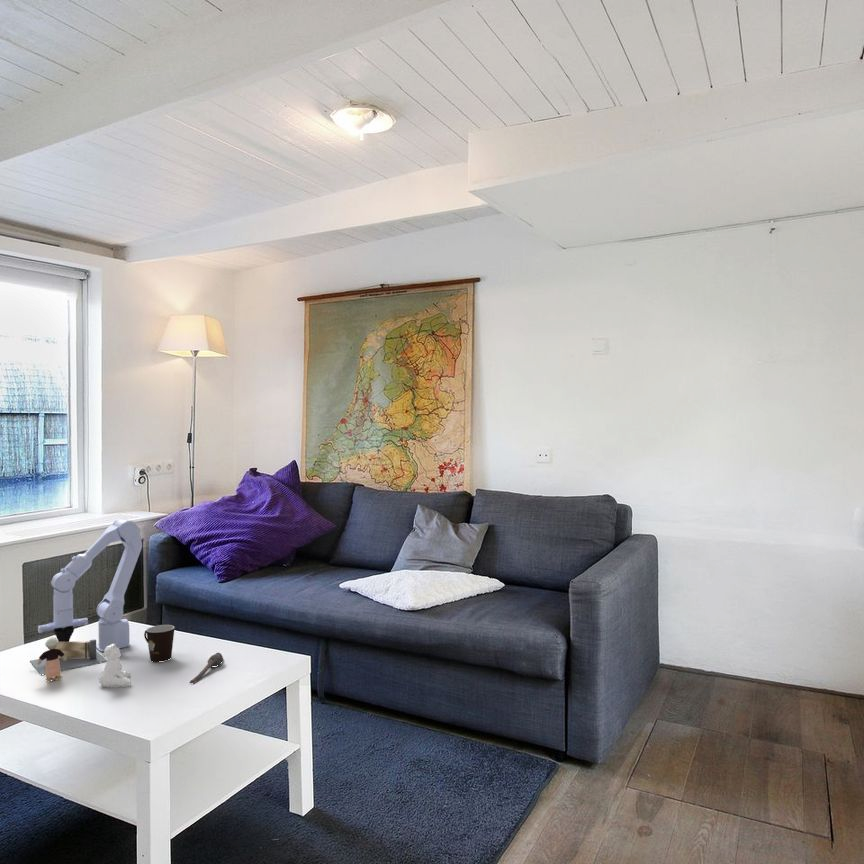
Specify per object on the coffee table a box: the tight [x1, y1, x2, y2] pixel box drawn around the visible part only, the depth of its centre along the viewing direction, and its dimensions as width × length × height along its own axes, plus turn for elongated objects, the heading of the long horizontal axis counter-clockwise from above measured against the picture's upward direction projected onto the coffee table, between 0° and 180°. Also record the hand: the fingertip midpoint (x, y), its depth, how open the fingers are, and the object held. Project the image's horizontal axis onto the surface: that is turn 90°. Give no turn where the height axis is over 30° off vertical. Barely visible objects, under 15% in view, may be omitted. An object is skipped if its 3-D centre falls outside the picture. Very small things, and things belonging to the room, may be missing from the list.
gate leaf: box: [55, 640, 90, 658], centre depth 223 cm, size 12×1×5 cm, turn 89°
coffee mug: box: [143, 624, 175, 663], centre depth 224 cm, size 12×9×10 cm
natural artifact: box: [189, 652, 224, 684], centre depth 212 cm, size 4×23×4 cm, turn 167°
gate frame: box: [29, 639, 108, 676], centre depth 221 cm, size 19×17×7 cm
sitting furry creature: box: [98, 644, 132, 689], centre depth 201 cm, size 10×9×12 cm
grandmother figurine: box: [37, 636, 67, 682], centre depth 205 cm, size 8×4×13 cm, turn 135°
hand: (63, 650), depth 226 cm, fingers closed
